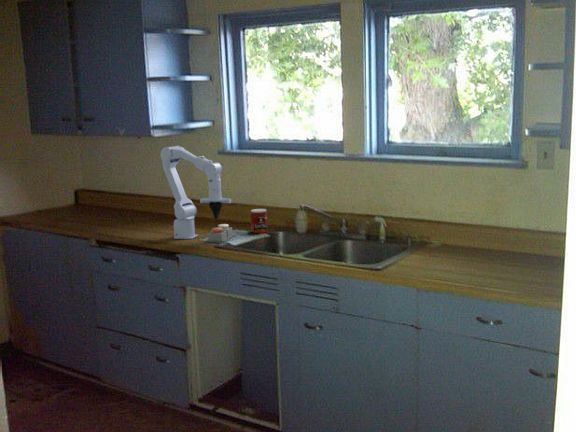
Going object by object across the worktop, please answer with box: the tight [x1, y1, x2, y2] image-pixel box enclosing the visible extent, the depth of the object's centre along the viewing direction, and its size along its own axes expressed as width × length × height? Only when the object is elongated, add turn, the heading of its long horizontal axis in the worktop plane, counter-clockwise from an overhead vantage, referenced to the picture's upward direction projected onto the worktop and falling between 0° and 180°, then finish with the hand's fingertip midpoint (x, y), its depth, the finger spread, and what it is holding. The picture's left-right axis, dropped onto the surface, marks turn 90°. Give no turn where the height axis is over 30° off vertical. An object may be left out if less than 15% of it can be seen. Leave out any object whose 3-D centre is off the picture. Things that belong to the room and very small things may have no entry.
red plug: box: [211, 227, 223, 234], centre depth 312 cm, size 5×5×4 cm
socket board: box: [204, 226, 237, 243], centre depth 316 cm, size 10×16×4 cm, turn 166°
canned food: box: [250, 208, 268, 234], centre depth 326 cm, size 8×8×11 cm
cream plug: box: [217, 223, 230, 230], centre depth 320 cm, size 5×5×4 cm
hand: (216, 218), depth 311 cm, fingers closed
